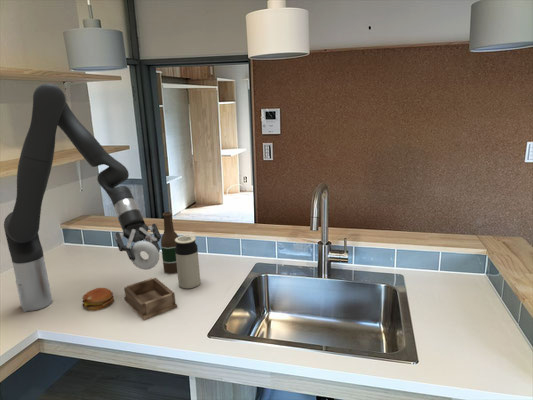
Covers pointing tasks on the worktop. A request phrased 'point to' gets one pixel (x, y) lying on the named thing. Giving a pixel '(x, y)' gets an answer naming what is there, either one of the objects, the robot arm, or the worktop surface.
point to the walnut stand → (150, 298)
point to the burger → (97, 299)
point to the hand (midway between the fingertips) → (146, 256)
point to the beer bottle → (169, 245)
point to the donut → (150, 250)
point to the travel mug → (187, 261)
